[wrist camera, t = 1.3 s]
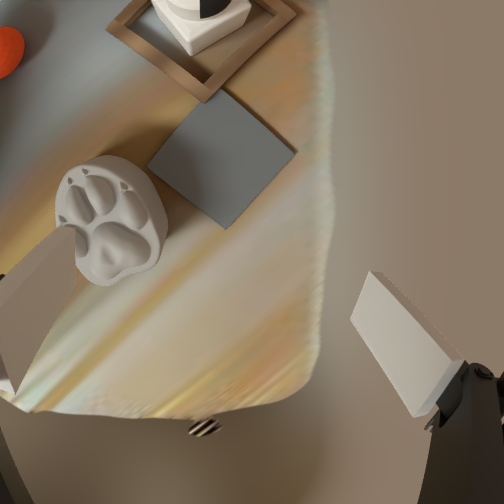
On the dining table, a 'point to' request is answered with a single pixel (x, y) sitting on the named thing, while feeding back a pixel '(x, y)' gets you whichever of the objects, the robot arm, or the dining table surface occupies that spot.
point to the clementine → (10, 50)
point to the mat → (220, 158)
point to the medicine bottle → (201, 20)
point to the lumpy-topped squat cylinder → (112, 218)
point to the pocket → (201, 91)
